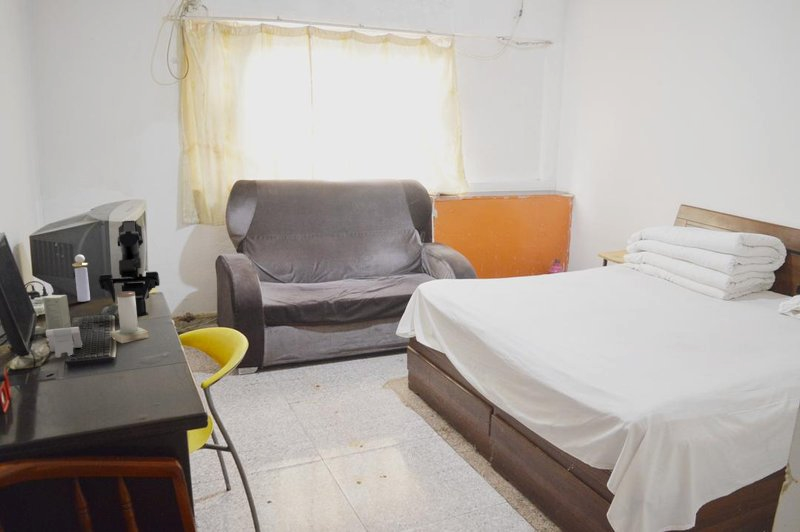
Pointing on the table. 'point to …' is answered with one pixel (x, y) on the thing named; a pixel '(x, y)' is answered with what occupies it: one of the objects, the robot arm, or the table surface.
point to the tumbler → (127, 312)
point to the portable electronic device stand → (63, 340)
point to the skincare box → (56, 312)
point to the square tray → (130, 335)
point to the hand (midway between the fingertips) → (128, 301)
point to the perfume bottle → (81, 279)
